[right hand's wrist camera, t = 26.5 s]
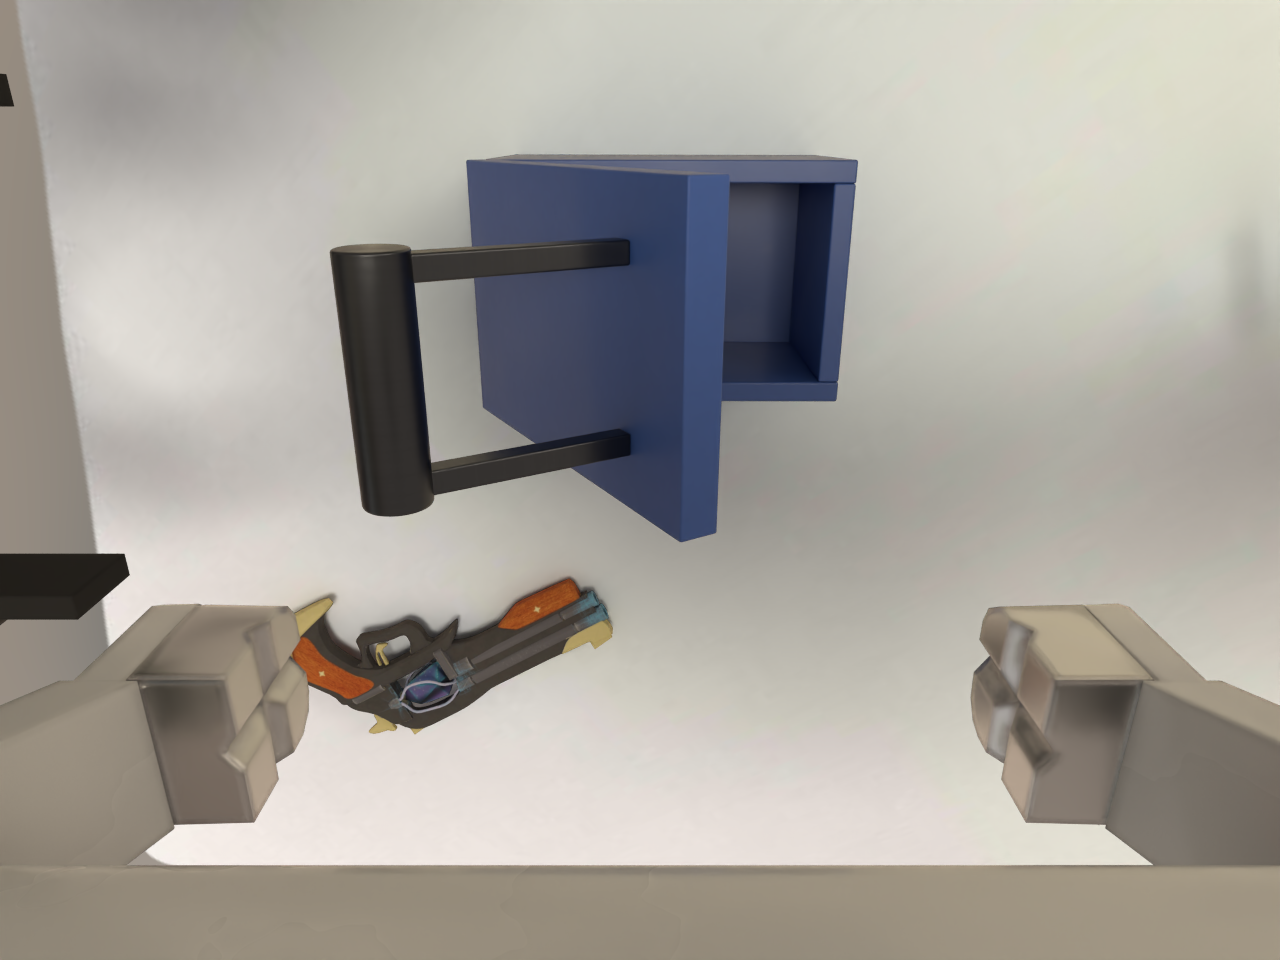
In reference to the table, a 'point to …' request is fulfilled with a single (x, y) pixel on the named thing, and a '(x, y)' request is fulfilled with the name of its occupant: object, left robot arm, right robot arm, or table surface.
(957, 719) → the table surface
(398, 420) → the lid
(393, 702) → the toy gun
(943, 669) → the table surface
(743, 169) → the chest
